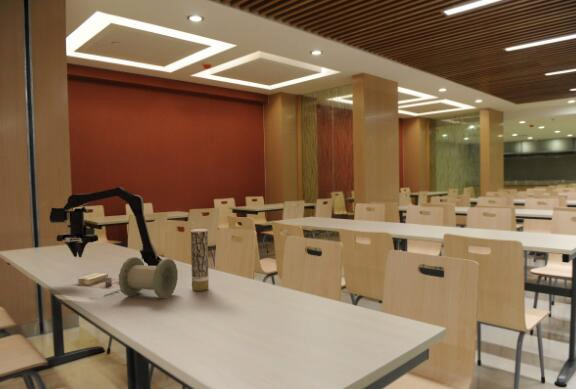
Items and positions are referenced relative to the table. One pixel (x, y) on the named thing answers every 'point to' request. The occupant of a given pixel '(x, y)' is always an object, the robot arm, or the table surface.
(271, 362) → the table surface
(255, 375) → the table surface
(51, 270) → the table surface
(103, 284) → the board
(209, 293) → the table surface
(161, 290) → the spool
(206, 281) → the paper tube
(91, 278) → the maple plate
